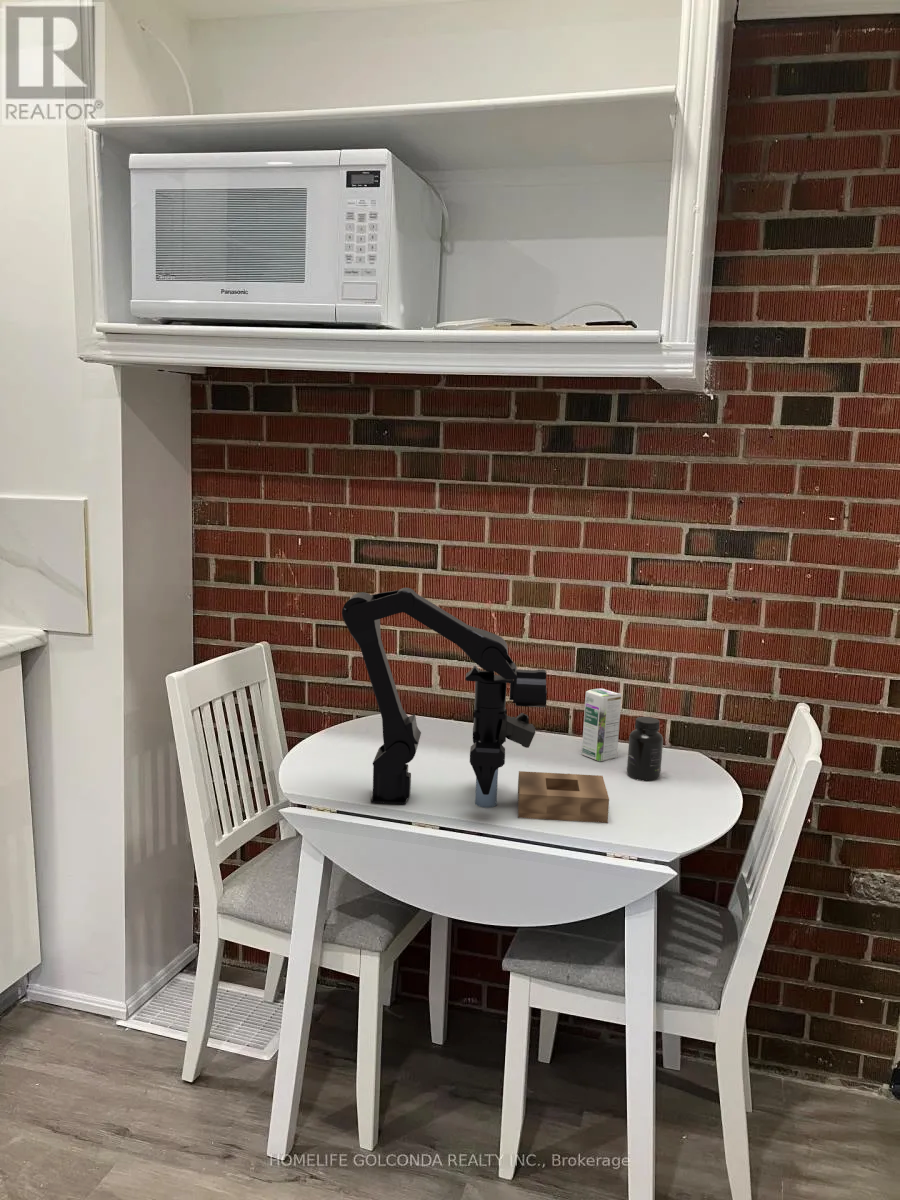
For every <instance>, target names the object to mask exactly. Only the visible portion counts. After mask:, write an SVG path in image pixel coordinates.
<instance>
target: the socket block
mask: <svg viewBox="0 0 900 1200" xmlns="http://www.w3.org/2000/svg"><path fill="white" fill-rule="evenodd" d="M517 777H518V779H517V780H518V782H517V816H518V817H517V818H518V819H531V820H532V819H533V820H535V819H536V820H551V821H554V820H555V821H569V822H570V821H571V822H586V823H587V822H588V823H589V822H590V823H603V824H605V823H606V824H608V821H609V820H608V819H609V809H610V807H609V805H610V797H609V794H608V791H607V786H606V783H605V780H604V776H603V775H595V774H580V773H579V774H577V773H557V772H539V771H521V770H519V771H518V776H517Z"/></svg>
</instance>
